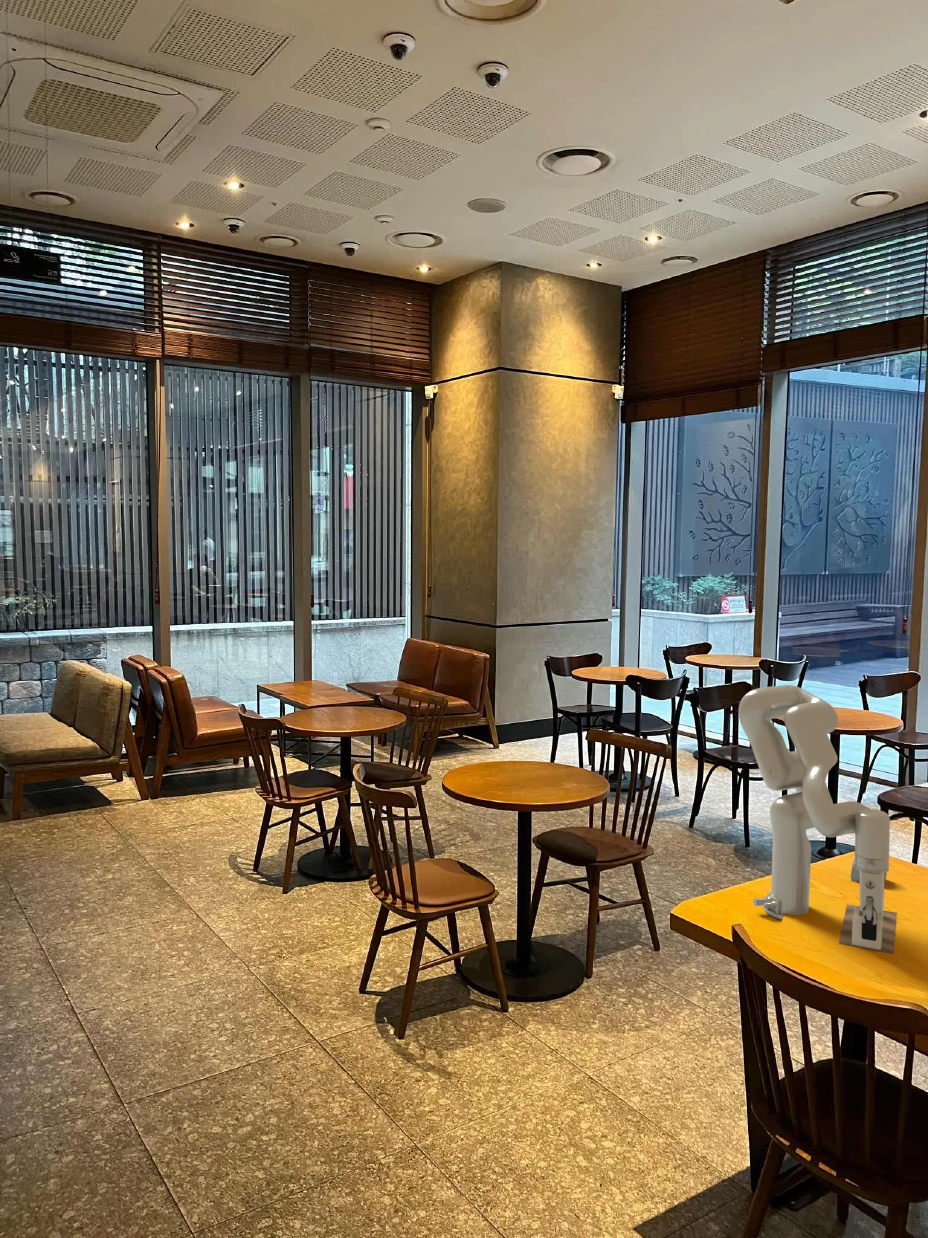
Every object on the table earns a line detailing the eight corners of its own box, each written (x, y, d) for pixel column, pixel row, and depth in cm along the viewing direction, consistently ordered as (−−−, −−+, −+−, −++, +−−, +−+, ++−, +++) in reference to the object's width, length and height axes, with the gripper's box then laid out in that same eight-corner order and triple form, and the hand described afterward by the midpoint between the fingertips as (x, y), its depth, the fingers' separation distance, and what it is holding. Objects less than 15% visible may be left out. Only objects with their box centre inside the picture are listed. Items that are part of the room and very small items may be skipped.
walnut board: (893, 960, 219) (893, 954, 218) (838, 949, 224) (838, 943, 224) (896, 918, 242) (896, 912, 242) (846, 909, 247) (846, 904, 247)
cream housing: (880, 950, 220) (882, 921, 220) (851, 944, 223) (852, 916, 222) (881, 939, 226) (883, 911, 225) (853, 934, 229) (854, 906, 228)
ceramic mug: (880, 892, 259) (882, 865, 258) (849, 885, 264) (851, 859, 263) (889, 881, 267) (891, 855, 266) (859, 875, 272) (861, 849, 271)
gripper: (887, 876, 213) (885, 948, 214) (890, 853, 228) (888, 921, 230) (852, 871, 216) (850, 943, 218) (856, 849, 232) (855, 916, 233)
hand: (870, 931), depth 224 cm, fingers open, 9 cm apart
